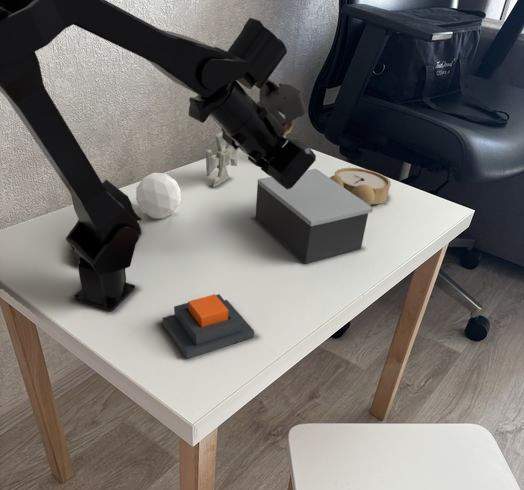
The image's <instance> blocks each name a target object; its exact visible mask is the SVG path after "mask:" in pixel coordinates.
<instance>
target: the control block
mask: <svg viewBox="0 0 524 490" xmlns="http://www.w3.org/2000/svg"><path fill="white" fill-rule="evenodd" d="M215 295H216V296H217V297H218V298H219V300H220V301H221V302H222V303H223V304H224V305H225V306H226V308H227V309H228V320H225V321H222V322H219V323H215V324H212V325H209V326H205V327H202V328H201V327H200V326H199V324H198V323H197V322H196V321H195V319H194V318H193V317H192V315H191V314H190V313H189V312H188V302H185V303H182V304H178V305H174V306H173V312H174V313H173V314H170V315H168V316H167V315H166V316H163V317H162V318H161V319H162V325H163V327H164V328H165V330H166V331H167V333H168V334H169V335H170V337H171V338H172V339H173V341H174V342H175V344H176V345H177V346H178V348H179V350H180V351H181V352H182V354H183V355H184V356H185V358H186V359H187V360H188V359H191V358H194V357H197V356H200V355H204V354H207V353H210V352H213V351H216V350H219V349H222V348H225V347H228V346H232V345H236V344H238V343H241V342H244V341H247V340H250V339H253V338H254V337H255V330H254V329H253V328H252V327H251V326H250V324H249V323H248V321H246V320H245V319H244V318H243V316H242V315H241V314H240V313H239V312H238V311H237V310H236V308H235V307H234V306H233V305H232V304H231V302H230V301H229V300H228V299H224V298H223V297H222V296H221V294H220V293H219V294H215Z"/></svg>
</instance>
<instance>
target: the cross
mask: <svg viewBox="0 0 524 490" xmlns="http://www.w3.org/2000/svg"><path fill="white" fill-rule="evenodd" d="M214 138H215V142H216V147H217V151H215V152H216V154H215V155H214V156H213V153H212V149H205V169H206V170H205V171H206V177H210V175H211V174H212V173H213V172H214V171H215V169H218V172H217V176H215V177H214V178H213V182H212V188H215V187H217V186H219V185H221V184H222V183H224V182H225V181H227V180H228V179H229V178H230V176H229V173H228V168H227V166H229V165H231V166H232V167H238V150H237V151H236V150H235V149H234V148H232V147H231V146H230V145H228V147H226V146H227V142H226V141H225V140H224V139H223V138H222V131H221V132H219V133H217V134H215V135H214ZM235 144H236V145H237V146H238V144H237V143H235Z"/></svg>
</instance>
